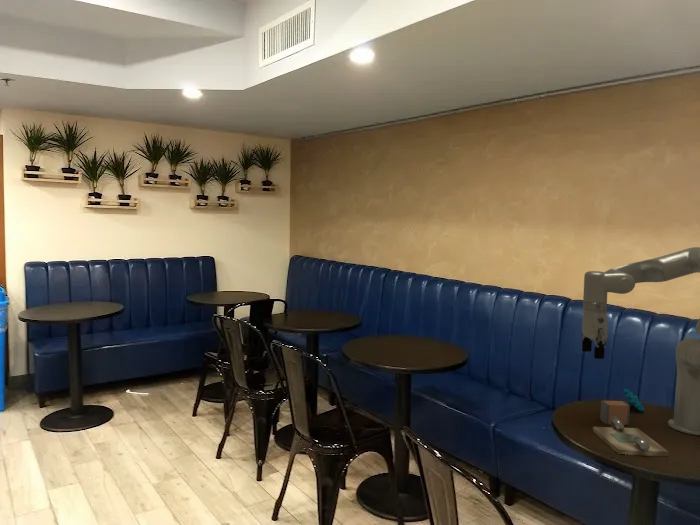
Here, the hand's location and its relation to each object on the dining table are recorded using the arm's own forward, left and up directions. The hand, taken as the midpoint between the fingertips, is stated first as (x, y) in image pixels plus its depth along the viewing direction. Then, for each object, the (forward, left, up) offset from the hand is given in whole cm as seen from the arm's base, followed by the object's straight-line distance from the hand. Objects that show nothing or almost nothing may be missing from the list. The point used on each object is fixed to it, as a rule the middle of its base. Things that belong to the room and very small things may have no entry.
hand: (592, 354), depth 183 cm
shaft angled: (-6, +8, -23) cm, 25 cm away
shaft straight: (-6, +24, -23) cm, 33 cm away
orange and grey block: (-10, -2, -25) cm, 27 cm away
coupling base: (-6, +16, -25) cm, 30 cm away
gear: (-24, -16, -25) cm, 38 cm away
